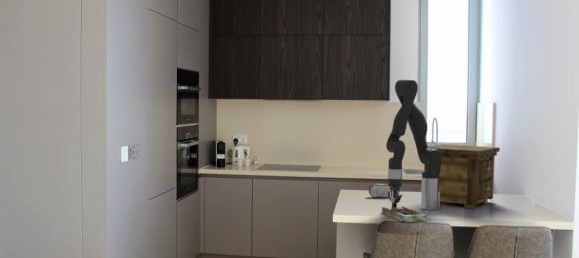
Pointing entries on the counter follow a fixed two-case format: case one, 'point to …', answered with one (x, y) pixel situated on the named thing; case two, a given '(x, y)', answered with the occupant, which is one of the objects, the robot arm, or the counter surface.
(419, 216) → the track
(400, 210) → the block
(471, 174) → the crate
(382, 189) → the tin
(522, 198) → the counter surface
